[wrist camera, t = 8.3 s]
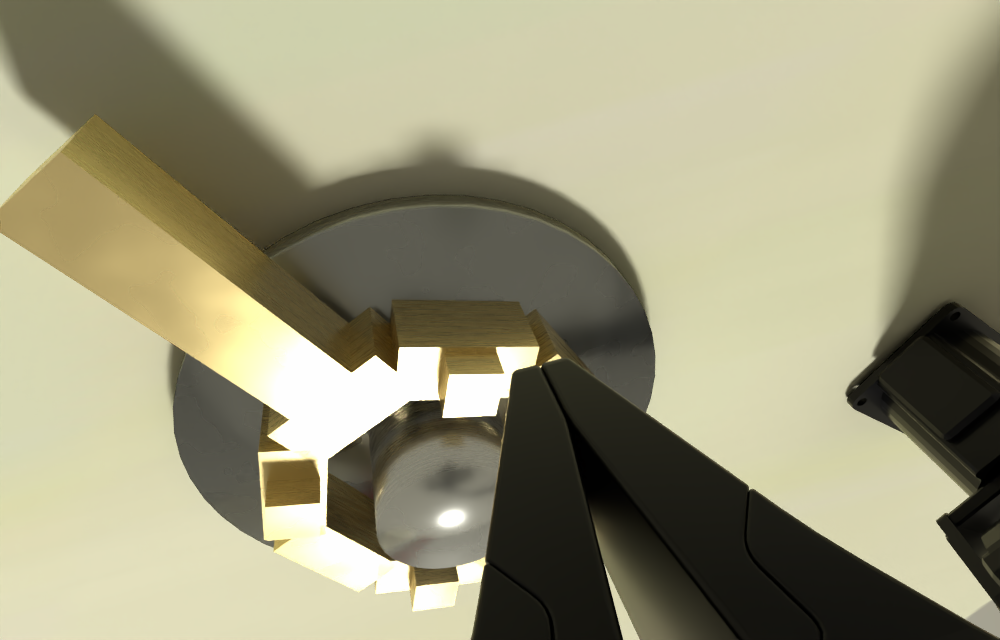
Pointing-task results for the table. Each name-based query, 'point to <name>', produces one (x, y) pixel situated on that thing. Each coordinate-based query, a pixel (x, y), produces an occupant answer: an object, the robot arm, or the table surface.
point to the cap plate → (417, 273)
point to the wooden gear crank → (275, 343)
